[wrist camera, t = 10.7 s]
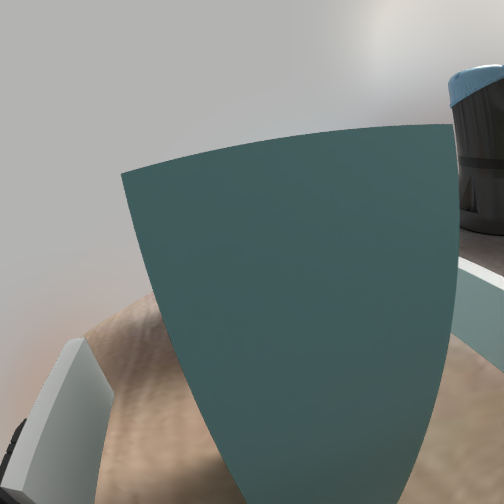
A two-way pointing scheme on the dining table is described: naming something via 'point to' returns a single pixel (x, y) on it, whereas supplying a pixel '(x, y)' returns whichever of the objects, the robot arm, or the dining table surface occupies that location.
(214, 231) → the teal rectangular block
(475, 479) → the dining table surface
